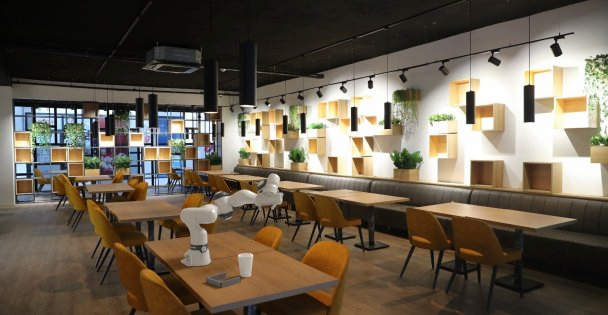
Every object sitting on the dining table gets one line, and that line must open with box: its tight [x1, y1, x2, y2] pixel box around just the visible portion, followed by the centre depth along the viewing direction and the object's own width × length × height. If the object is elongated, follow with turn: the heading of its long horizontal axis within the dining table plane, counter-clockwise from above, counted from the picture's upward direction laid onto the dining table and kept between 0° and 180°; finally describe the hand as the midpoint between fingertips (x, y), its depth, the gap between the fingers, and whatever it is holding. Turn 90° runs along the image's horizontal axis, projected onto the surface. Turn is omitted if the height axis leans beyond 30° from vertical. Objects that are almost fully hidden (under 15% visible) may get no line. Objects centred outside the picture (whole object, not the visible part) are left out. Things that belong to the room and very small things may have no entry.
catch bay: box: [205, 271, 241, 289], centre depth 247 cm, size 15×14×3 cm
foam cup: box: [237, 252, 254, 278], centre depth 259 cm, size 10×9×13 cm
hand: (266, 209), depth 283 cm, fingers open, 8 cm apart
